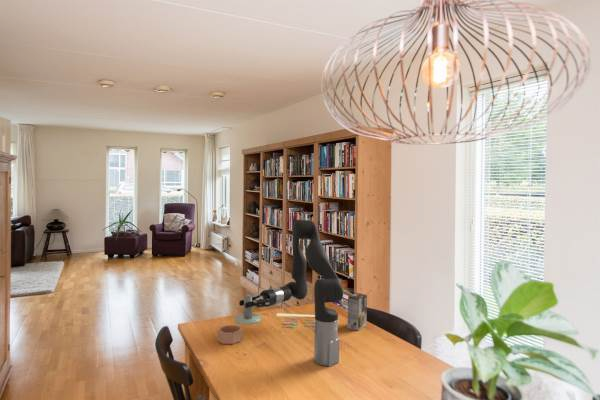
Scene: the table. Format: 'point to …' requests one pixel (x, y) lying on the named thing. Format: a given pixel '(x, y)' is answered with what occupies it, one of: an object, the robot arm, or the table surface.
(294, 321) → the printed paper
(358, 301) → the coffee box
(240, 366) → the table surface
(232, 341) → the bowl
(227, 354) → the table surface
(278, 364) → the table surface
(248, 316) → the peg on round base
